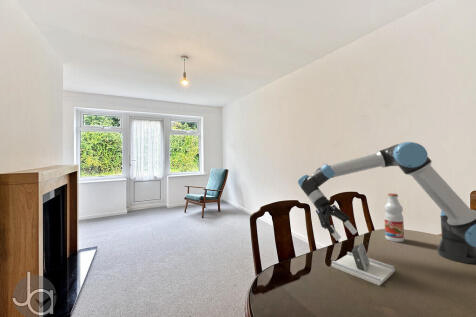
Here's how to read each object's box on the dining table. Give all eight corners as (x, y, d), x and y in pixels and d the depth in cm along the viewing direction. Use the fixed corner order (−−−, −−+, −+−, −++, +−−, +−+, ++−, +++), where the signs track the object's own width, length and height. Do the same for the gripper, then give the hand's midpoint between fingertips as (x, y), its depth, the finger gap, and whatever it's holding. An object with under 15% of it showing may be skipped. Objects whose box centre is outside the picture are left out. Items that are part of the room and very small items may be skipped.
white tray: (394, 271, 94) (394, 265, 94) (379, 285, 84) (379, 279, 84) (348, 256, 110) (348, 251, 110) (331, 266, 100) (331, 261, 100)
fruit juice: (407, 240, 128) (406, 194, 129) (397, 243, 125) (395, 195, 125) (391, 235, 137) (390, 192, 138) (381, 238, 134) (380, 193, 134)
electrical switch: (367, 272, 92) (363, 250, 92) (353, 269, 95) (350, 248, 96) (370, 263, 99) (367, 243, 100) (357, 262, 102) (354, 242, 103)
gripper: (329, 201, 123) (356, 234, 110) (299, 207, 109) (326, 246, 96) (337, 193, 118) (366, 226, 105) (307, 198, 105) (336, 237, 92)
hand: (347, 236), depth 101 cm, fingers open, 13 cm apart
